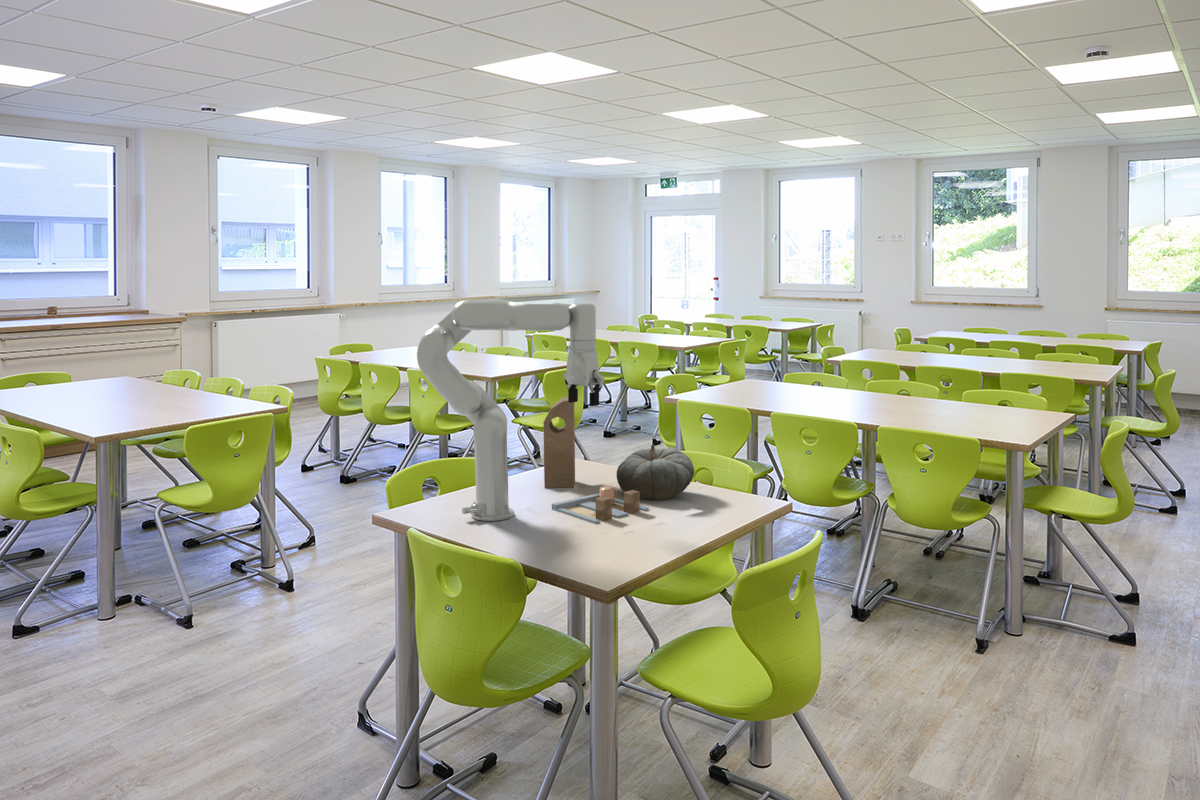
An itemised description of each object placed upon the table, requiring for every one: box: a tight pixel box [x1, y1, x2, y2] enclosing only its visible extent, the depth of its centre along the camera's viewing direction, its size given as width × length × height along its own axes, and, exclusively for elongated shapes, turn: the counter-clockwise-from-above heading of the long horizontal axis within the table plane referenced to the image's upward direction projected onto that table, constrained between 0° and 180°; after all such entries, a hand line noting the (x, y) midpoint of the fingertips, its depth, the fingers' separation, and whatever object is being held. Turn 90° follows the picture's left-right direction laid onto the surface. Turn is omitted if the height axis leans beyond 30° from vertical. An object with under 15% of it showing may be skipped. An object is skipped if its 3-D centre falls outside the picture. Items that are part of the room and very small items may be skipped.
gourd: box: [616, 443, 695, 501], centre depth 272 cm, size 25×25×17 cm
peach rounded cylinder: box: [599, 486, 616, 506], centre depth 259 cm, size 5×5×5 cm
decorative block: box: [542, 396, 576, 489], centre depth 287 cm, size 10×10×30 cm
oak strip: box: [594, 490, 642, 516], centre depth 256 cm, size 5×17×7 cm, turn 41°
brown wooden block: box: [587, 497, 614, 523], centre depth 245 cm, size 5×7×7 cm
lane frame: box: [551, 492, 650, 525], centre depth 254 cm, size 21×20×3 cm
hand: (583, 403), depth 250 cm, fingers open, 9 cm apart
